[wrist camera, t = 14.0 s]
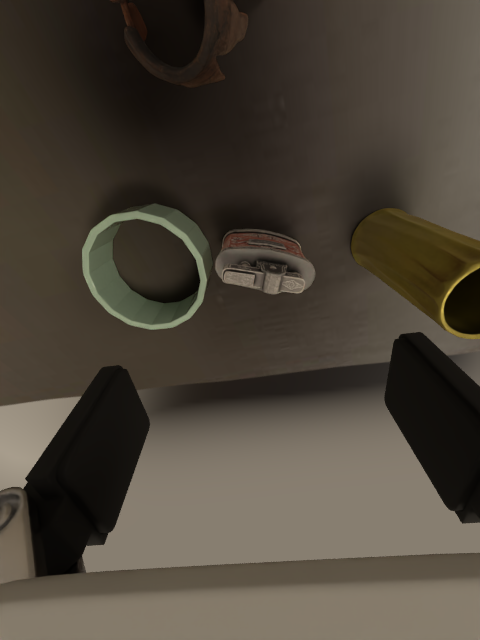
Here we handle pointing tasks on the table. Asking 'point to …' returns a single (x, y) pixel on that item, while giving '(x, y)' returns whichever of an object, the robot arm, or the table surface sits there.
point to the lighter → (263, 262)
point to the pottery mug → (218, 39)
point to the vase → (424, 266)
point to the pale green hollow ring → (118, 293)
